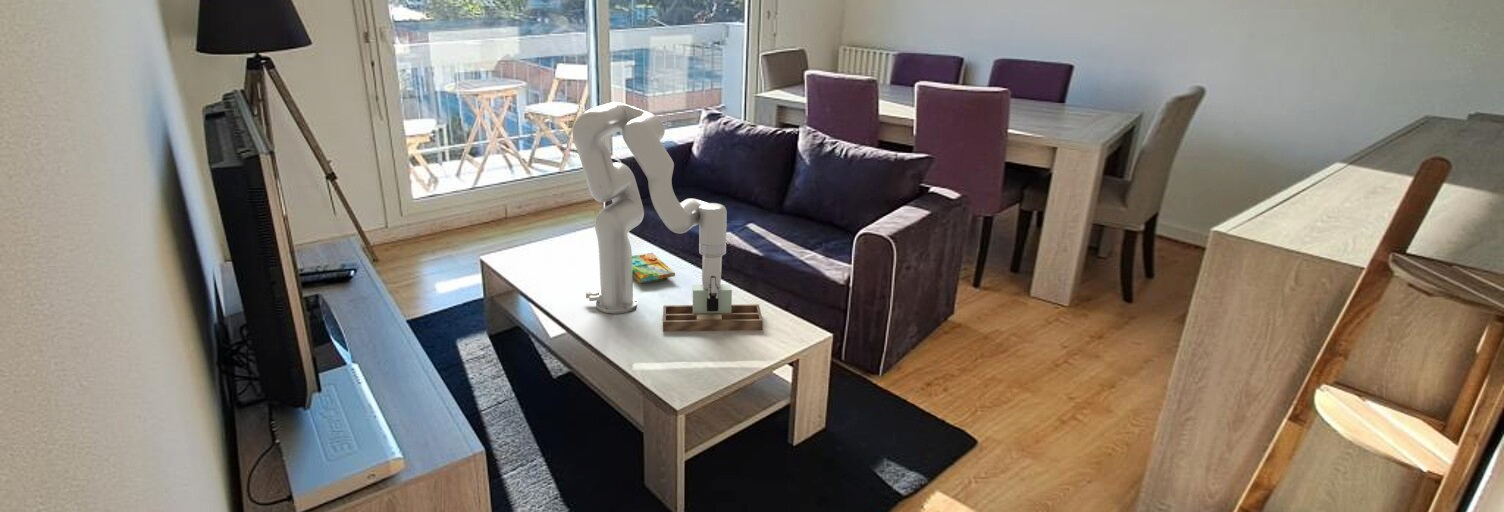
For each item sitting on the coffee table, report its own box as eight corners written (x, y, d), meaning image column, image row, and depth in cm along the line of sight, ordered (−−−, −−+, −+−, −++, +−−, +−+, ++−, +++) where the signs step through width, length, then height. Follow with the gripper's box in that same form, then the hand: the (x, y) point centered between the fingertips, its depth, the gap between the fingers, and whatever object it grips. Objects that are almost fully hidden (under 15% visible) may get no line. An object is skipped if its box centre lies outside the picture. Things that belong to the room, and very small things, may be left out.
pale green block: (692, 322, 225) (693, 290, 221) (692, 316, 228) (692, 284, 225) (731, 321, 226) (731, 290, 222) (730, 315, 229) (730, 284, 226)
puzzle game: (651, 250, 269) (674, 270, 253) (651, 262, 271) (675, 283, 254) (619, 255, 263) (640, 276, 247) (619, 268, 265) (641, 289, 249)
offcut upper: (696, 323, 220) (696, 318, 219) (696, 319, 222) (696, 314, 222) (721, 323, 221) (721, 318, 220) (721, 319, 223) (721, 314, 223)
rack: (663, 335, 219) (662, 321, 217) (663, 318, 229) (663, 305, 228) (762, 333, 222) (762, 320, 220) (758, 317, 232) (758, 304, 230)
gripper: (698, 237, 227) (698, 293, 233) (700, 258, 211) (699, 319, 217) (724, 237, 227) (723, 293, 234) (728, 258, 211) (726, 318, 218)
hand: (711, 305), depth 225 cm, fingers open, 6 cm apart
